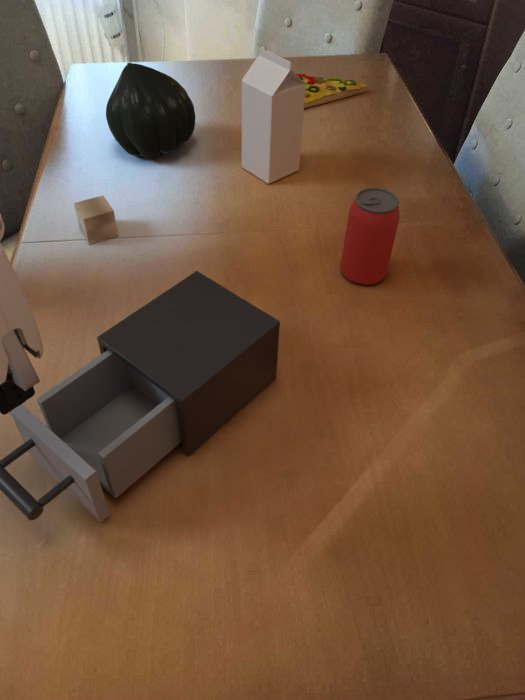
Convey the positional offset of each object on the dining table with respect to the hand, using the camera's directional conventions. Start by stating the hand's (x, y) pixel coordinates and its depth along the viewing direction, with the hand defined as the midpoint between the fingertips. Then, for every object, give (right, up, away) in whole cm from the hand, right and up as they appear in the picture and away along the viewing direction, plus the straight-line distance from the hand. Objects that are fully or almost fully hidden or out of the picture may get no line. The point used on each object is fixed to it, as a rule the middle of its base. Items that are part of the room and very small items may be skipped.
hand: (14, 399), depth 50 cm
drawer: (+4, -7, +11) cm, 14 cm away
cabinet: (+13, 0, +19) cm, 23 cm away
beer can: (+35, +15, +35) cm, 52 cm away
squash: (+1, +40, +57) cm, 70 cm away
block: (-4, +22, +39) cm, 45 cm away
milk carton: (+22, +35, +53) cm, 67 cm away
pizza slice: (+33, +57, +74) cm, 99 cm away
